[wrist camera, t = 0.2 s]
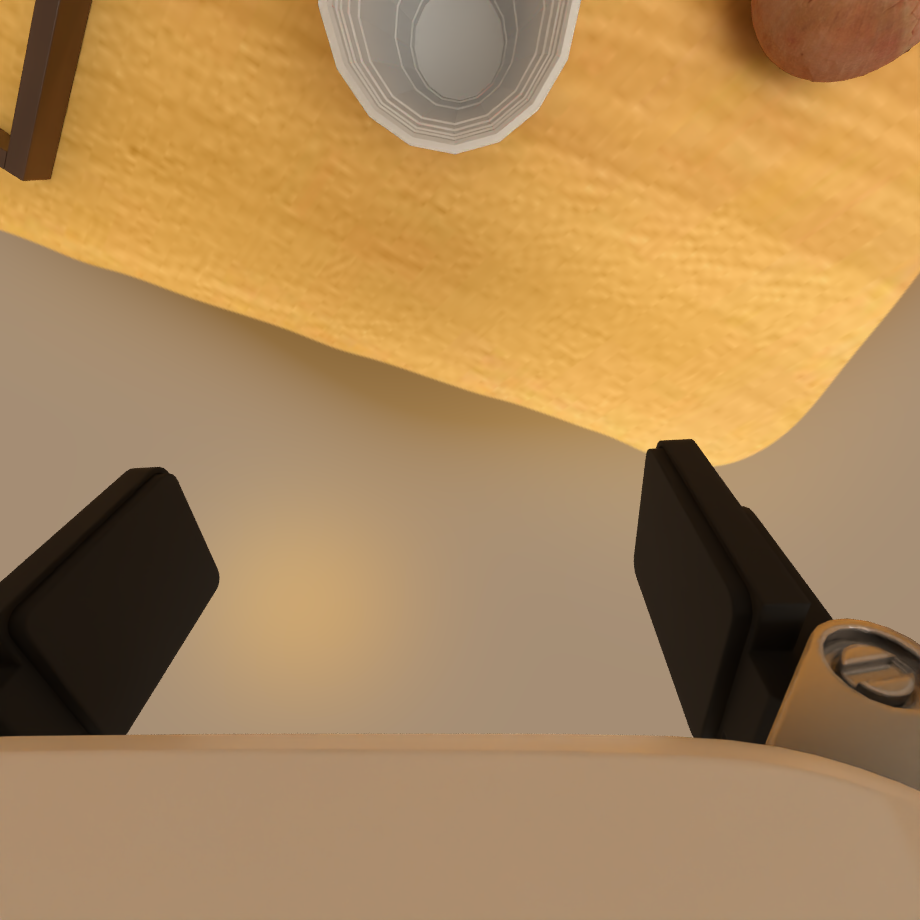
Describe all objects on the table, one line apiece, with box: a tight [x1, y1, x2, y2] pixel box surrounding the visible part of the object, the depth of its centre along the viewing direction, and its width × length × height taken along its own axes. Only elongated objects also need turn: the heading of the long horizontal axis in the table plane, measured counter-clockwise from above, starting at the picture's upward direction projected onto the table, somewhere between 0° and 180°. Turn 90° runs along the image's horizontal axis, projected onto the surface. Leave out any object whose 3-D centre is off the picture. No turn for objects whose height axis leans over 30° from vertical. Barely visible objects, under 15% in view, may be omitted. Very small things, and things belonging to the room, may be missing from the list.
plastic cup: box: [318, 0, 581, 154], centre depth 25 cm, size 11×11×12 cm
